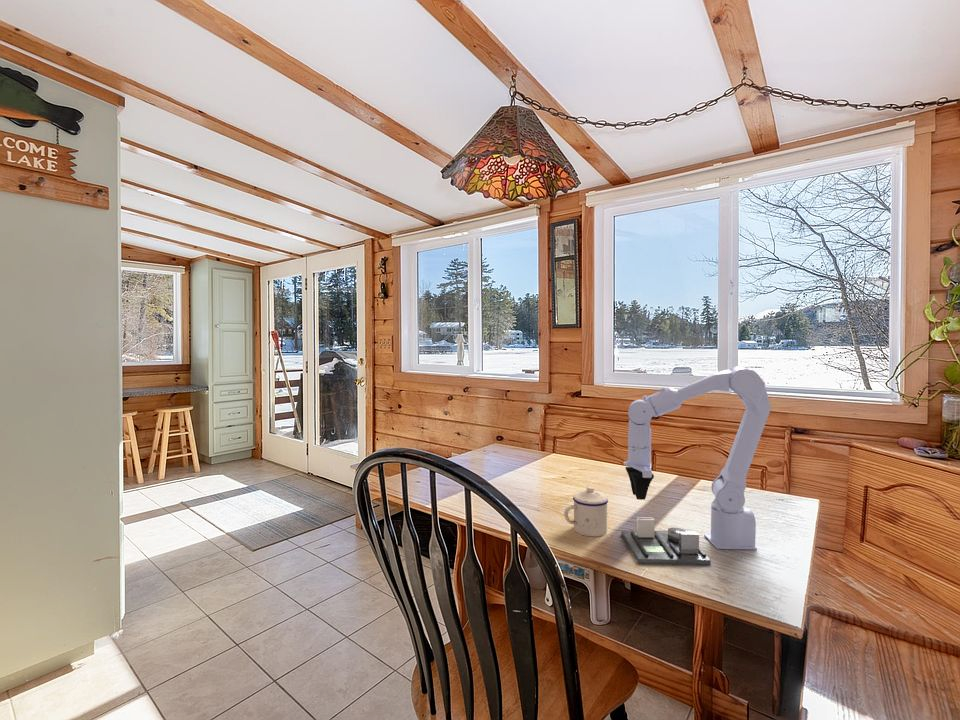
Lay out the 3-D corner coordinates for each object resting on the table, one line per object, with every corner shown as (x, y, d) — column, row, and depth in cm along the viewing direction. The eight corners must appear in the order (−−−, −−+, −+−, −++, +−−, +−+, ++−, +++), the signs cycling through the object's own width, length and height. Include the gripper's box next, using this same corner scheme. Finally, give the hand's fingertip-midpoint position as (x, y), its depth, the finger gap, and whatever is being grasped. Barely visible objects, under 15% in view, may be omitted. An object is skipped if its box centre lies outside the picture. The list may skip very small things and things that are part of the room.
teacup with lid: (596, 522, 132) (597, 481, 132) (614, 535, 123) (614, 491, 123) (557, 526, 129) (557, 484, 128) (572, 540, 120) (572, 495, 120)
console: (683, 535, 123) (684, 513, 123) (710, 565, 107) (710, 539, 107) (621, 534, 124) (621, 512, 123) (638, 564, 108) (638, 538, 108)
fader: (652, 534, 120) (652, 517, 120) (654, 537, 119) (654, 519, 118) (636, 534, 120) (636, 516, 120) (638, 537, 119) (638, 519, 119)
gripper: (617, 439, 132) (617, 487, 132) (631, 452, 117) (630, 506, 118) (643, 439, 131) (642, 488, 132) (660, 452, 117) (659, 506, 118)
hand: (639, 496), depth 125 cm, fingers open, 3 cm apart
